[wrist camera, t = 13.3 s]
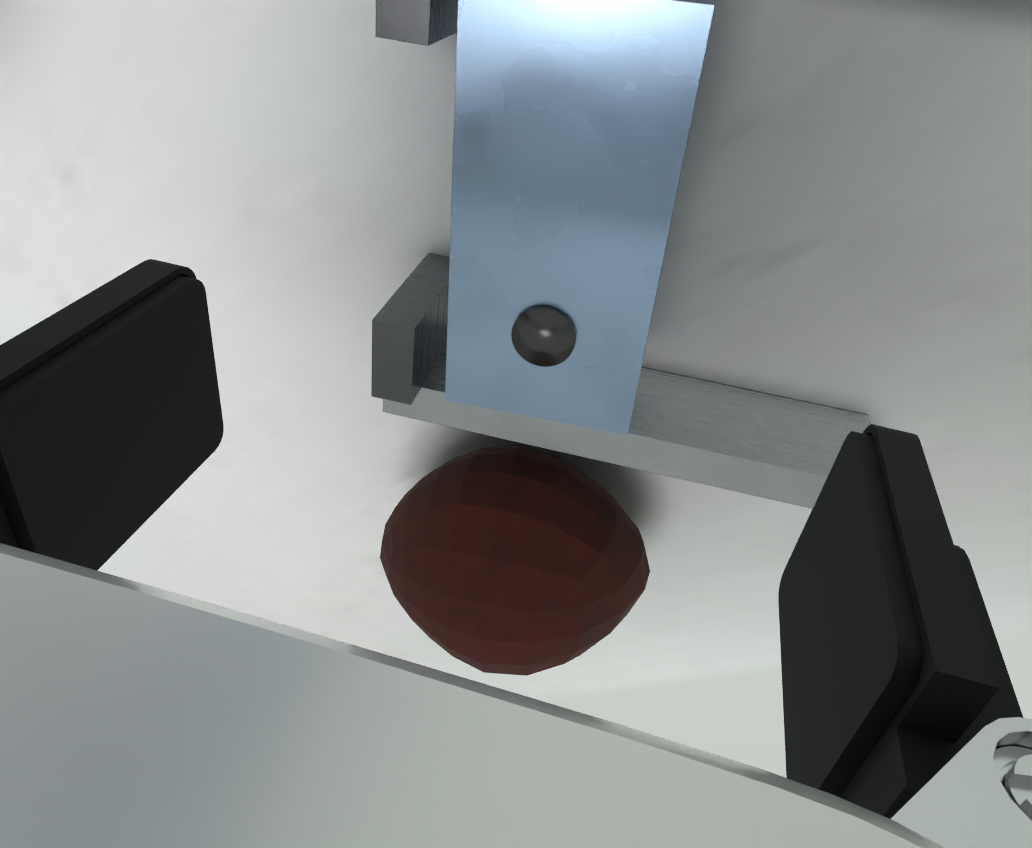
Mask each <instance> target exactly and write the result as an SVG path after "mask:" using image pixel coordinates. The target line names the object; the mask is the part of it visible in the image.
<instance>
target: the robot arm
mask: <svg viewBox="0 0 1032 848" xmlns="http://www.w3.org/2000/svg"><path fill="white" fill-rule="evenodd" d="M222 436H223V419H222V411H221V404H220V396H219V389H218V381H217V374H216V366H215V359H214V351H213V344H212V336H211V329H210V321H209V314H208V306H207V299H206V292H205V288H204V285H203V284H202V282H201V281H199V280H197V279H196V276H195V274H194V273H193V271H192V270H191V269H189V268H188V267H184V266H179V265H175V264H171V263H166V262H162V261H157V260H152V259H149V260H146V261H144V262H142V263H140V264H139V265H137V266H135V267H133V268H132V269H130V270H128V271H127V272H125V273H123V274H121V275H120V276H118V277H116V278H115V279H113V280H111V281H109V282H108V283H106V284H104V285H103V286H101V287H99V288H97V289H96V290H94V291H92V292H91V293H89V294H87V295H86V296H84V297H82V298H80V299H79V300H77V301H75V302H74V303H72V304H70V305H68V306H67V307H65V308H63V309H62V310H60V311H58V312H56V313H55V314H53V315H51V316H50V317H48V318H46V319H44V320H43V321H41V322H39V323H38V324H36V325H34V326H33V327H31V328H29V329H27V330H26V331H24V332H22V333H21V334H19V335H17V336H15V337H14V338H12V339H10V340H9V341H7V342H5V343H3V344H2V345H0V848H1032V720H1031V719H1026V718H1023V715H1022V713H1021V710H1020V707H1019V704H1018V701H1017V698H1016V695H1015V692H1014V689H1013V686H1012V683H1011V680H1010V677H1009V674H1008V672H1007V669H1006V666H1005V663H1004V660H1003V657H1002V654H1001V651H1000V648H999V645H998V642H997V639H996V636H995V633H994V630H993V628H992V625H991V622H990V619H989V616H988V613H987V610H986V607H985V604H984V601H983V598H982V595H981V592H980V589H979V587H978V584H977V581H976V578H975V575H974V572H973V569H972V566H971V563H970V560H969V558H968V556H967V554H966V553H965V551H964V550H963V549H962V548H960V547H959V546H956V545H953V541H952V538H951V535H950V532H949V529H948V526H947V523H946V520H945V517H944V514H943V511H942V508H941V504H940V501H939V498H938V495H937V492H936V489H935V486H934V483H933V480H932V477H931V474H930V471H929V468H928V464H927V461H926V458H925V455H924V452H923V449H922V446H921V443H920V440H919V438H918V436H917V435H915V434H912V433H907V432H903V431H899V430H894V429H890V428H886V427H881V426H877V425H872V424H871V425H869V426H867V428H866V429H865V430H864V431H863V433H859V432H854V431H851V432H850V433H849V434H848V435H847V437H846V438H845V440H844V442H843V444H842V447H841V449H840V451H839V453H838V455H837V457H836V460H835V462H834V464H833V466H832V468H831V470H830V473H829V475H828V477H827V479H826V481H825V483H824V486H823V488H822V490H821V492H820V494H819V496H818V498H817V501H816V503H815V505H814V507H813V509H812V511H811V514H810V516H809V518H808V520H807V522H806V524H805V527H804V529H803V531H802V533H801V535H800V537H799V540H798V542H797V544H796V546H795V548H794V550H793V553H792V555H791V557H790V559H789V561H788V563H787V565H786V568H785V570H784V572H783V575H782V578H781V582H780V587H779V620H780V642H781V664H782V683H783V684H782V685H783V708H784V728H785V751H786V772H787V778H784V777H782V776H779V775H776V774H773V773H771V772H768V771H765V770H762V769H759V768H756V767H752V766H750V765H746V764H743V763H740V762H737V761H734V760H731V759H727V758H724V757H721V756H718V755H715V754H712V753H708V752H705V751H702V750H698V749H696V748H693V747H689V746H686V745H683V744H680V743H677V742H673V741H670V740H667V739H664V738H661V737H658V736H654V735H651V734H648V733H645V732H642V731H638V730H635V729H632V728H629V727H626V726H623V725H619V724H616V723H613V722H609V721H606V720H603V719H599V718H596V717H593V716H589V715H586V714H583V713H579V712H576V711H573V710H569V709H566V708H562V707H559V706H556V705H553V704H549V703H546V702H543V701H539V700H536V699H533V698H529V697H526V696H523V695H519V694H516V693H513V692H509V691H506V690H503V689H499V688H496V687H492V686H489V685H486V684H482V683H479V682H476V681H472V680H469V679H466V678H462V677H459V676H456V675H452V674H449V673H446V672H442V671H439V670H436V669H432V668H429V667H426V666H422V665H419V664H416V663H412V662H409V661H405V660H402V659H398V658H395V657H392V656H388V655H385V654H381V653H378V652H375V651H371V650H368V649H364V648H361V647H358V646H354V645H351V644H347V643H344V642H341V641H337V640H334V639H330V638H327V637H324V636H320V635H317V634H313V633H310V632H307V631H303V630H300V629H296V628H293V627H290V626H286V625H283V624H279V623H276V622H272V621H269V620H266V619H262V618H259V617H255V616H252V615H248V614H245V613H242V612H238V611H235V610H231V609H228V608H224V607H221V606H218V605H214V604H211V603H207V602H204V601H201V600H197V599H194V598H190V597H187V596H183V595H180V594H176V593H173V592H169V591H166V590H162V589H159V588H155V587H152V586H148V585H145V584H142V583H138V582H135V581H131V580H128V579H124V578H121V577H117V576H114V575H110V574H107V573H103V572H100V571H97V570H98V569H99V568H100V567H101V566H102V565H103V564H104V563H105V562H106V561H107V560H108V559H109V558H110V557H111V556H112V555H113V554H114V553H115V552H116V551H117V550H118V549H119V548H120V547H121V546H122V545H123V544H124V543H125V542H126V541H127V540H128V539H129V538H130V537H131V536H132V535H133V534H134V533H135V531H136V530H137V529H138V528H139V527H140V526H141V525H142V524H143V523H144V522H145V521H146V520H147V519H148V518H149V517H150V516H151V515H152V514H153V513H154V512H155V511H156V510H157V509H158V508H159V507H160V506H161V505H162V504H163V503H164V502H165V501H166V500H167V499H168V498H169V497H170V496H171V495H172V494H173V493H174V492H175V491H176V490H177V489H178V488H179V487H180V486H181V485H182V484H183V483H184V482H185V481H186V480H187V479H188V477H189V476H190V475H191V474H192V473H193V472H194V471H195V470H196V469H197V468H198V467H199V466H200V465H201V464H202V463H203V462H204V461H205V460H206V459H207V458H208V457H209V456H210V455H211V454H212V453H213V452H214V451H215V450H216V449H217V447H218V446H219V444H220V442H221V439H222Z"/></svg>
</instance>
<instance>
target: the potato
mask: <svg viewBox="0 0 1032 848" xmlns="http://www.w3.org/2000/svg"><path fill="white" fill-rule="evenodd" d="M380 559H381V562H382V565H383V568H384V570H385V573H386V576H387V579H388V581H389V584H390V586H391V589H392V591H393V594H394V596H395V597H396V598H397V600H398V601H399V603H400V604H401V606H402V607H403V608H404V610H405V611H406V612H407V614H408V615H409V616H410V618H411V619H412V620H413V621H414V622H415V623H416V624H417V625H418V626H419V627H420V628H421V629H422V630H423V631H424V632H425V633H426V634H427V635H428V636H429V637H430V638H431V639H432V640H433V641H434V642H436V643H437V644H438V645H439V646H441V647H442V648H443V649H444V650H446V651H447V652H448V653H449V654H451V655H452V656H453V657H455V658H457V659H459V660H461V661H463V662H465V663H467V664H469V665H471V666H473V667H475V668H477V669H478V670H480V671H482V672H487V673H500V674H514V675H530V674H533V673H536V672H539V671H543V670H546V669H549V668H552V667H555V666H558V665H562V664H565V663H566V662H568V661H570V660H572V659H574V658H575V657H577V656H579V655H581V654H582V653H584V652H585V651H586V650H588V649H589V648H591V647H592V646H593V645H595V644H596V643H597V642H599V641H600V640H602V639H603V638H604V637H606V636H607V635H608V634H610V633H611V632H612V630H613V629H614V628H615V627H616V626H617V625H618V624H619V623H620V622H621V621H622V620H623V618H624V617H625V616H626V615H627V614H628V613H629V611H630V610H631V608H632V607H633V605H634V604H635V603H636V601H637V600H638V598H639V597H640V595H641V594H642V593H643V591H644V590H645V586H646V583H647V580H648V576H649V573H650V570H649V565H648V560H647V556H646V551H645V547H644V542H643V540H642V537H641V534H640V532H639V529H638V528H637V526H636V525H635V524H634V523H633V521H632V520H631V519H630V518H629V516H628V515H627V514H626V513H625V511H624V510H623V509H622V508H621V506H620V505H619V504H618V503H617V501H616V500H615V499H614V498H613V496H612V495H611V494H610V493H609V492H607V491H606V490H605V489H604V488H602V487H601V486H600V485H598V484H597V483H596V482H594V481H593V480H592V479H590V478H589V477H588V476H586V475H585V474H584V473H582V472H581V471H580V470H578V469H577V468H576V467H574V466H573V465H572V464H570V463H569V462H568V461H565V460H562V459H559V458H556V457H553V456H550V455H547V454H544V453H541V452H538V451H535V450H532V449H529V448H527V447H524V446H521V445H516V446H504V447H493V448H482V449H479V450H476V451H474V452H471V453H468V454H465V455H462V456H460V457H457V458H454V459H452V460H450V461H449V462H447V463H445V464H444V465H442V466H440V467H439V468H437V469H435V470H434V471H432V472H430V473H429V474H428V475H426V476H425V477H423V478H422V479H421V480H420V481H419V482H418V483H417V484H416V485H415V486H414V487H413V488H412V489H411V490H409V491H408V492H407V493H406V494H405V495H404V497H403V498H402V499H401V501H400V502H399V503H398V505H397V506H396V508H395V509H394V511H393V512H392V514H391V516H390V518H389V519H388V521H387V523H386V525H385V530H384V535H383V539H382V546H381V555H380Z"/></svg>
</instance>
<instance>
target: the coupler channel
mask: <svg viewBox="0 0 1032 848" xmlns="http://www.w3.org/2000/svg"><path fill="white" fill-rule="evenodd" d="M457 21H458V0H376V37H380V38H386V39H392V40H398V41H403V42H409V43H415V44H421V45H427V46H429V45H431V44H433V43H435V42H437V41H439V40H441V39H444V38H446V37H448V36H450V35H452V34H454V33H457ZM449 264H450V258H448V257H443V256H439V255H434V254H429V253H428V254H427V255H426V257H425V258H424V259H423V260H422V261H421V263H420V264H419V265H418V266H417V267H416V269H415V270H414V271H413V272H412V273H411V275H410V276H409V277H408V278H407V279H406V280H405V282H404V283H403V284H402V285H401V286H400V288H399V289H398V290H397V291H396V292H395V294H394V295H393V296H392V297H391V298H390V300H389V301H388V302H387V303H386V304H385V306H384V307H383V308H382V309H381V310H380V312H379V313H378V314H377V315H376V316H375V317H374V319H373V320H372V396H373V397H377V398H382V399H383V412H386V413H391V414H395V415H400V416H404V417H409V418H413V419H417V420H422V421H426V422H431V423H435V424H440V425H444V426H448V427H453V428H457V429H462V430H466V431H471V432H475V433H479V434H484V435H488V436H493V437H497V438H502V439H506V440H511V441H515V442H519V443H524V444H528V445H533V446H537V447H542V448H546V449H550V450H555V451H559V452H564V453H568V454H573V455H577V456H581V457H586V458H590V459H595V460H599V461H604V462H608V463H612V464H617V465H621V466H626V467H630V468H635V469H639V470H643V471H648V472H652V473H657V474H661V475H666V476H670V477H674V478H679V479H683V480H688V481H692V482H697V483H701V484H705V485H710V486H714V487H719V488H723V489H728V490H732V491H736V492H741V493H745V494H750V495H754V496H759V497H763V498H768V499H772V500H776V501H781V502H785V503H790V504H794V505H799V506H803V507H807V508H812V509H813V507H814V505H815V503H816V501H817V498H818V496H819V494H820V492H821V490H822V488H823V486H824V483H825V481H826V479H827V477H828V475H829V473H830V470H831V468H832V466H833V464H834V462H835V460H836V457H837V455H838V453H839V451H840V449H841V447H842V444H843V442H844V440H845V438H846V437H847V435H848V434H849V433H850V432H851V431H854V432H859V433H863V431H864V430H865V429H866V428H867V426H869V425H871V423H870V420H869V417H868V415H865V414H860V413H855V412H850V411H846V410H841V409H836V408H831V407H827V406H822V405H817V404H812V403H808V402H803V401H798V400H794V399H789V398H784V397H779V396H775V395H770V394H765V393H760V392H756V391H751V390H746V389H741V388H737V387H732V386H727V385H723V384H718V383H713V382H708V381H704V380H699V379H694V378H689V377H685V376H680V375H675V374H670V373H666V372H661V371H656V370H652V369H647V368H642V367H641V371H640V376H639V381H638V386H637V391H636V396H635V401H634V406H633V411H632V416H631V421H630V426H629V430H628V435H625V434H620V433H615V432H610V431H604V430H599V429H594V428H588V427H583V426H578V425H573V424H567V423H562V422H557V421H551V420H546V419H541V418H535V417H530V416H525V415H520V414H514V413H509V412H504V411H498V410H493V409H488V408H483V407H477V406H472V405H467V404H461V403H456V402H451V401H445V385H446V355H447V324H448V294H449Z"/></svg>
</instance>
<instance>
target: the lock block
mask: <svg viewBox="0 0 1032 848" xmlns="http://www.w3.org/2000/svg"><path fill="white" fill-rule="evenodd" d="M714 6H715V0H458V21H457V52H456V82H455V112H454V142H453V173H452V203H451V233H450V264H449V294H448V324H447V355H446V385H445V401H451V402H456V403H461V404H467V405H472V406H477V407H483V408H488V409H493V410H498V411H504V412H509V413H514V414H520V415H525V416H530V417H535V418H541V419H546V420H551V421H557V422H562V423H567V424H573V425H578V426H583V427H588V428H594V429H599V430H604V431H610V432H615V433H620V434H625V435H628V430H629V426H630V421H631V416H632V411H633V406H634V401H635V396H636V391H637V386H638V381H639V376H640V371H641V366H642V361H643V356H644V351H645V347H646V342H647V337H648V332H649V327H650V322H651V317H652V312H653V307H654V302H655V297H656V292H657V287H658V282H659V277H660V272H661V268H662V263H663V258H664V253H665V248H666V243H667V238H668V233H669V228H670V223H671V218H672V213H673V208H674V203H675V198H676V193H677V189H678V184H679V179H680V174H681V169H682V164H683V159H684V154H685V149H686V144H687V139H688V134H689V129H690V124H691V119H692V114H693V109H694V105H695V100H696V95H697V90H698V85H699V80H700V75H701V70H702V65H703V60H704V55H705V50H706V45H707V40H708V35H709V30H710V26H711V21H712V16H713V11H714Z"/></svg>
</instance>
